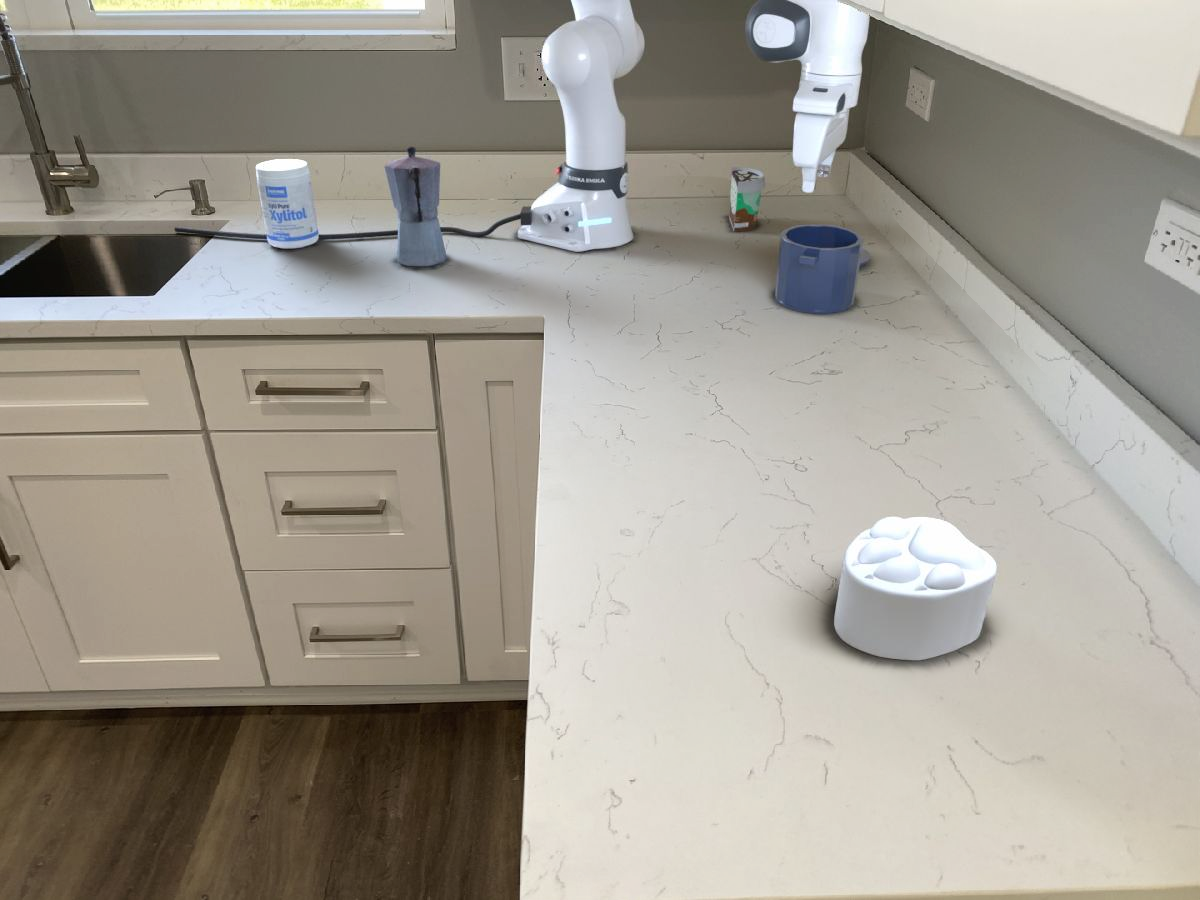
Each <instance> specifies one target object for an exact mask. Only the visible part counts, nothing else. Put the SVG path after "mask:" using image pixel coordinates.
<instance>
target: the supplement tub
mask: <svg viewBox="0 0 1200 900" xmlns="http://www.w3.org/2000/svg"><path fill="white" fill-rule="evenodd" d="M255 173H256V174H255V176H256V183H257V189H258V194H259V200H260V206H261V212H262V217H263V222H264V229H265V234H267V239H266V240H267V242H268V244H270V246H272V247H275V248H280V249H290V250H291V249H299V248H304V247H307V246H311V245H313V244H315V243H317V242H318V241H319V240H318V238H319V235H320V232H319V226H318V219H317V212H316V205H315V201H314V200H315V199H314V192H313V185H312V180H311V173H310V169H309V165H308V162H307V161H305V160H302V159H296V158H283V159H282V158H281V159H272V160H267V161H262V162H260V163H258V164H256V166H255Z"/></svg>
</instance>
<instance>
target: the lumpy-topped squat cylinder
mask: <svg viewBox="0 0 1200 900" xmlns="http://www.w3.org/2000/svg"><path fill="white" fill-rule="evenodd" d="M841 567H842V568H841V575H840V579H839V586H838V590H837V591H838V592H837V598H836V604H835V611H834V618H833V627H834V629H835V632H836V634H837V635H838V637H839V638H840V639H841V640H842V641H843V642H845V643H846V644H847V645H849V646H850V647H852V648H854V649H856V650H858V651H861V652H864V653H867V654H869V655H872V656H876V657H879V658H885V659H892V660H902V661H923V660H928V659H933V658H936V657H940V656H943V655H946V654H949V653H952V652H955V651H957V650H959V649H962V648H964V647H965V646H966V647H967V646H968V645H970V644H972V643H974V642H975V641H976V640H977V639H978V638H979V637H980V635H981V632H982V628H983V626H984V625H983V624H984V621H985V617H986V614H987V611H988V607H989V603H990V600H991V595H992V591H993V588H994V583H995V579H996V576H997V572H998V566H997V562H996V560H995V559H994V557H993V556H992V555H991V554H989V553H988V552H987V551H986V550H984V549H982V548H981V547H980V546H977V545H976V544H974V542H972V541H970V540H969V539H968V538H966V536H964V535H963V533H962V532H961V531H960V530H959V529H958V528H957V527H956V526H954V525H953V524H952V523H950V522H948V521H946V520H943V519H939V518H934V517H929V516H928V517H927V516H915V517H908V518H901V517H899V516H886V517H884V518H883V517H882V518H881V519H879V520H878V521H876V522H875V523H874V525H873V526H872V527H870V528H868V529H865V530H863V531H862V532H860V533H859V535H857V536H856V537H855V538H854V539H853V540H852V541H851V543H850V544H849V545H848V546H847V548H846V550H845V553H844V557H843V562H842V566H841Z"/></svg>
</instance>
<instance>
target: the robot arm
mask: <svg viewBox="0 0 1200 900" xmlns="http://www.w3.org/2000/svg"><path fill="white" fill-rule="evenodd" d="M570 2H571V5H572V8H573V13H574V18H575V19H574V20H571V21H568V22H565V23H563V24H562V25H561V26H559V27H558V28H557V29H555V30H554V31H553V32H551V34H550V35H548V36H547V38H546V40H545V41H544V43H543V45H542V48H541V65H542V69H543V72H544V73H545V76H546V77H547V78H548V80H549V81H550V82H551V83H552V84H553V85H554V88H555V90H556V92H557V95H558V98H559V102H560V106H561V110H562V115H563V122H564V133H565V135H564V136H565V137H564V138H565V160H564V162H563V163H561V164H559V165H558V167H556V168H554V169H553V171H554V173H553V175H554V176H557V175H558V180H557V182H556V183H555V184H553V185H552V186H551V187H550V188H548V189H547V190H545V191H544V192H543V193H542V194H541V195H540V196H538V197H537V198H536V199H535V200H534V202H533V203H532V204H531V206H526V205H525V206H524V205H523V206H522V207H521V211H520V213H517V214H515V215H512V216H511V215H510V216H508V217H505V218H502V219H500V220H498V221H496V222H495V223H494V224H492V225H491V226H490V227H489V228H487V229H485V230H482V231H472V230H467V229H463V228H459V227H452V226H440V229H441V233H455V234H459V235H463V236H468V237H473V238H483V237H487V236H489V235H491V234H492V233H493V232H495V230H497V229H498V228H500V227H501V226H503V225H505V224H508V223H512V222H515V221H518V220H520V228H519V229H518V231H517V237H518V239H520V240H524V241H529V242H533V243H538V244H540V245H541V244H542V245H545V246H550V247H554V248H557V249H562V250H566V251H570V252H576V253H577V252H579V253H580V252H585V251H586V252H587V251H590V250H601V249H610V248H615V247H620V246H623V245H625V244H628V243H629V242H631V241H632V240H633V239H634V233H633V230H632V226H631V221H630V216H629V208H628V199H627V194H628V187H629V165H628V162H627V161H626V157H627V156H626V155H627V153H626V152H627V151H626V149H627V148H626V147H627V146H626V145H627V142H626V141H627V122H626V117H625V116H624V114H623V113H622V112H621V110H620V108H619V105H618V103H617V102H618V101H617V97H616V93H615V87H614V86H615V85H614V82H615V80H616V79H620V78H622V77H624V76H626V75H627V74H629V73H630V72H631V71H632V70H633V69H634V68H635V67H636V66H637V65H638V63H639V62H640V61H641V60H642V57H643V55H644V52H645V45H646V44H645V37H644V32H643V30H642V28H641V26H640V25H639V23H638V22H637V21H636V19H635V15H634V12H633V8H632V4H631V0H570ZM870 17H871V15H870V16H869V15H867V14H865V13H863V12H860V11H858V10H857V9H855V8H853V7H851V6H849V5H846V4H843V3H840V2H838V1H837V0H757V1H756V2H754V4H753V5H752V6H751V7H750V9H749V11H748V12H747V16H746V19H745V24H744V35H745V41H746V44H747V46H748V49H749V50H750V52H751V53H752V54H753V55H754V56H755V57H756V58H757V59H759V60H761V61H763V62H767V63H774V64H777V63H784V62H790V61H795V60H796V61H799V62H800V64H801V71H800V78H799V82H798V90H797V91H796V93H795V95H794V98H793V102H792V111H793V112H795V113H796V114H795V117H794V124H793V139H792V162H793V165H794V166H795V167H799V168H801V176H802V185H801V191H802V192H803V193H807V194H808V193H810V194H812V193H813V192H814V191H815V190H816V188H817V181H818V179H817V177H818V178H825V179H827V178H828V177H829V176H830V175H831V172H832V171H831V170H832V165H833V161H834V158H835V155H836V152H837V151H836V150H838V148H839V147H840V146H841V145H842V144H843V143H844V142H845V140H846V137H847V133H848V124H849V117H850V109H851V108H855V107H856V106H857V105H858V100H859V93H860V88H861V87H860V86H861V81H862V73H863V63H862V57H863V51H864V48H865V46H866V43H867V40H868V36H869V35H868V34H869V26H870ZM174 231H175V232H176V233H186V234H196V235H204V236H205V235H206V236H214V237H215V236H216V237H224V238H225V237H226V238H237V239H251V240H252V239H253V240H267V234H266V233H249V232H248V233H247V232H237V231H235V232H234V231H226V230H225V231H224V230H214V229H213V230H212V229H203V228H194V227H183V226H182V227H181V226H175V227H174ZM391 236H392V237H393V236H398V229H395V230H384V231H383V230H380V231H363V232H350V233H348V232H347V233H346V232H345V233H328V234H327V233H326V234H325V233H324V234H319V238H318V240H317V241H324V240H341V239H342V240H345V239H346V240H347V239H363V238H365V239H366V238H379V237H391Z"/></svg>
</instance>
